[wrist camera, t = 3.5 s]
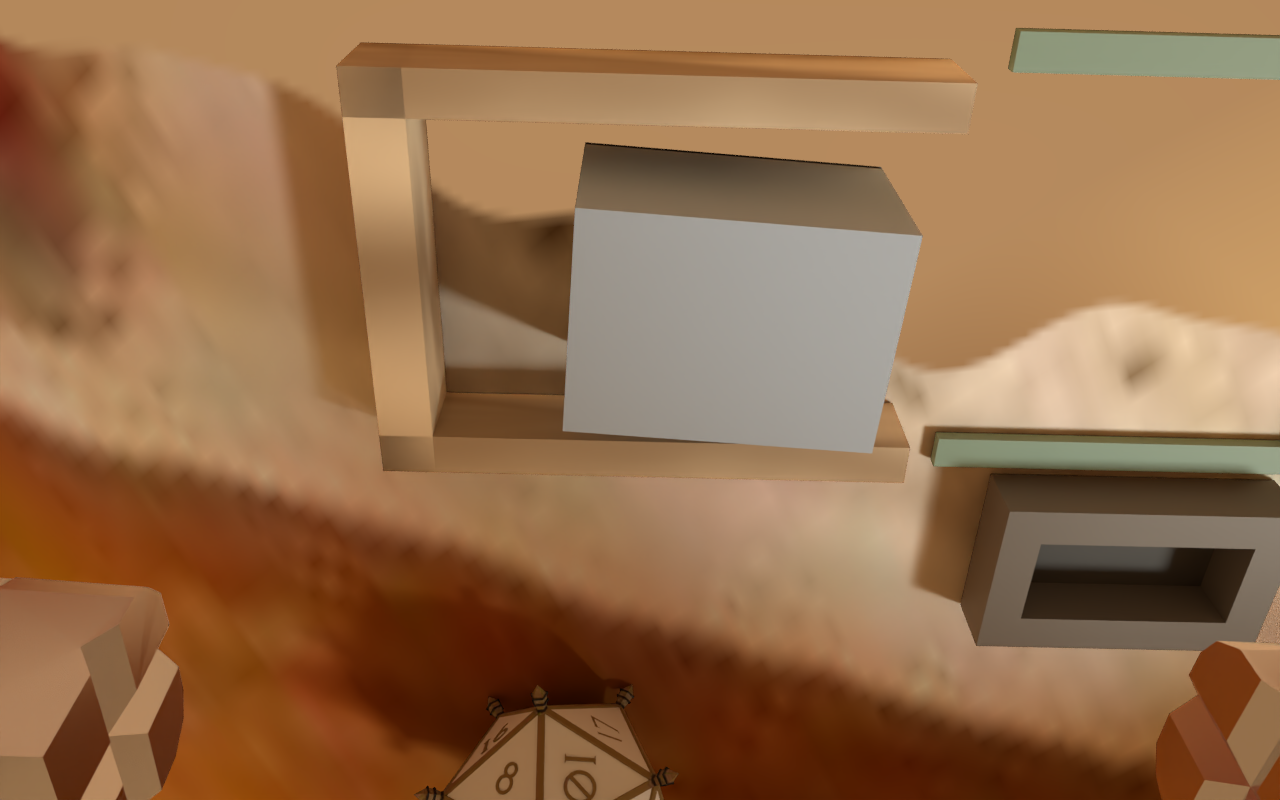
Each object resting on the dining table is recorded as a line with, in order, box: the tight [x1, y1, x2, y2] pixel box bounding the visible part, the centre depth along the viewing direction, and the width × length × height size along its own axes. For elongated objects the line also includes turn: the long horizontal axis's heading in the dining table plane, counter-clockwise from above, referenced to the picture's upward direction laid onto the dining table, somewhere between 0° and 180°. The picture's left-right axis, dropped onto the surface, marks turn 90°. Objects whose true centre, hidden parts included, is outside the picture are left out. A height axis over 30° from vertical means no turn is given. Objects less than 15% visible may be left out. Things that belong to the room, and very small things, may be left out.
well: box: [960, 474, 1280, 651], centre depth 34 cm, size 5×9×2 cm, turn 89°
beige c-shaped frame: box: [336, 43, 977, 483], centre depth 29 cm, size 11×15×2 cm
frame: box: [931, 28, 1280, 474], centre depth 30 cm, size 13×12×1 cm
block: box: [563, 142, 923, 453], centre depth 28 cm, size 6×8×5 cm
